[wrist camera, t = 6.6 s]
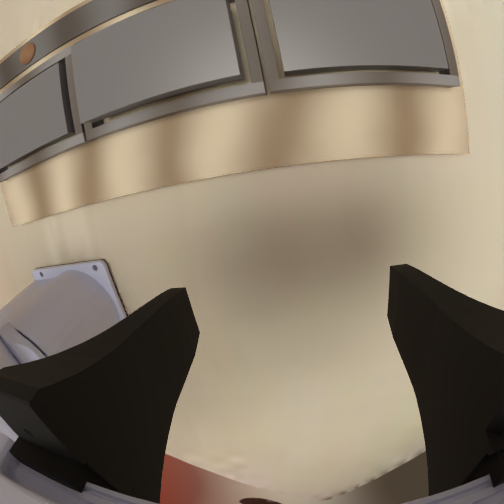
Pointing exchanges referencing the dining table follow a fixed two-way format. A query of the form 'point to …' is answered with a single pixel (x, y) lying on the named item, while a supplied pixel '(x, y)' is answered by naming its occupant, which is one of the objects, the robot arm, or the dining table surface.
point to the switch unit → (225, 116)
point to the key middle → (155, 57)
